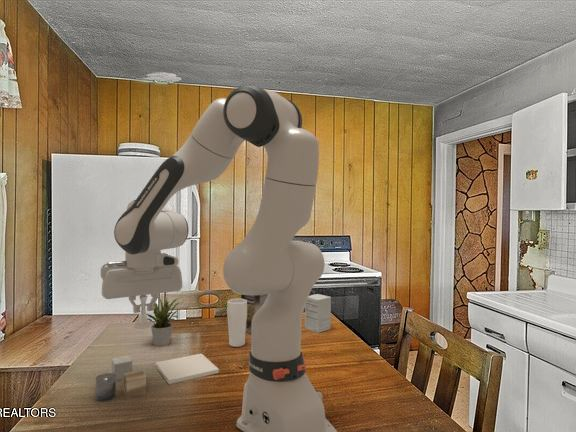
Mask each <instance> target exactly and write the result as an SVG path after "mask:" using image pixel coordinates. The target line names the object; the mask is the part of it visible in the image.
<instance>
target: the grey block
mask: <svg viewBox="0 0 576 432" xmlns="http://www.w3.org/2000/svg"><path fill="white" fill-rule="evenodd" d="M129 372H133V360H132V358H131V356H130V355H126V356H120V357H115V358H111V373H113V374H115V375H116V381H120V380H124V373H129Z"/></svg>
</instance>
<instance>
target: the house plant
mask: <svg viewBox="0 0 576 432" xmlns="http://www.w3.org/2000/svg"><path fill="white" fill-rule="evenodd" d="M181 298H183V297H182V296H181V297H177V298H175V299H174V300H172V301H168V297H167V296H165V297H164V301H162V299H161V298H160V297H159V296H158V300H159V302H160V308H159V305H158V304H157V302H155V304H154V310H153V314H154V316H153V315H152V314H149V313H146V316H147V319H148V321H152V322H153V326H152V327H150V329H151V334H152V340H153V341H152V342H153V345H154V346H156V347H163V346H168V345H169V344H170V343H171V337H172V333H173V327H174V326H173V325H174V324H173V323H172V322H170V321H175V320H176V319H175V318H177V319H178V315H177V312H179V311H180V309H178V310H175V311H174V309H175V308H176V307H177V306H178V305H179V304H183V303H184V302H182V301H178V302H177V300H179V299H181ZM151 300H152V298H150V301H151ZM170 302H171V303H170ZM175 302H177V303H175ZM173 311H174V312H173ZM148 317H149V318H148ZM175 322H176V321H175Z"/></svg>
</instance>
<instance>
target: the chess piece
mask: <svg viewBox="0 0 576 432" xmlns="http://www.w3.org/2000/svg"><path fill="white" fill-rule="evenodd" d="M147 299H148V295H140V296H139V301H140V304H139V305H140V316H139V317H140V318H139V320H138V321H136V322H135V323H134V324H133V328H134V329H137V330H143V329H149V328H150V329H151V327H152V326H153V324H154V323H153V322H154V321H153V320H152V321H153V322H152V321H150V320H148V319H149V318H148V316H147V315H146V314H147V308H146V307H147V306H148V305H147V304H148V303H146V302H147ZM147 318H148V319H147Z"/></svg>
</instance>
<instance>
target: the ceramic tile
mask: <svg viewBox="0 0 576 432" xmlns="http://www.w3.org/2000/svg"><path fill="white" fill-rule="evenodd" d="M155 367H156V369H157V370H158V371H159V373H160V374H161V376H162V378H164V380H165V381H166V383H167V384H168V385H173V384H176V383H179V382H184V381H189V380H193V379H197V378H198V379H199V378H202V377H206V376H207V377H208V376H211V375H215V374H219V372H220V370H219V368H218V367H217V366H216V365H215V364H214V363H213V362H212V361H211V360H210V359H209V358H208V357H206V356H205V355H204V354H203V353H196V354H192V355H188V356H183V357H176V358H172V359H167V360H162V361H157V362H155Z"/></svg>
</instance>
